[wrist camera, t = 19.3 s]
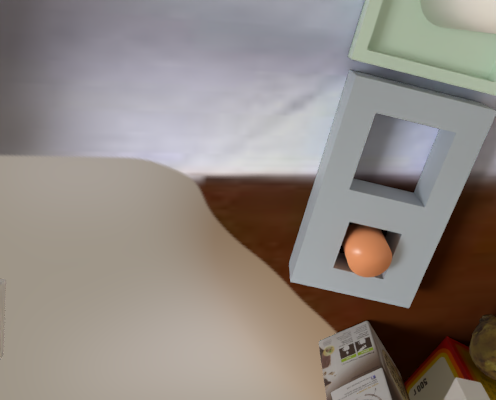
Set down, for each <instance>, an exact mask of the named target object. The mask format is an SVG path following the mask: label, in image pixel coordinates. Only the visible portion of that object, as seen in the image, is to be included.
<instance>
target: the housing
mask: <svg viewBox="0 0 496 400" xmlns="http://www.w3.org/2000/svg"><path fill="white" fill-rule="evenodd" d="M376 113H378V114H382V115H386V116H390V117H394V118H398V119H402V120H406V121H410V122H414V123H418V124H422V125H426V126H430V127H434V128H438V129H439V132H438V134H437V137H436V139H435V142H434V144H433V147H432V149H431V151H430V154H429V156H428V159H427V161H426V164H425V166H424V169H423V171H422V174H421V176H420V178H419V181H418V183H417V186H416V188H415V191H414V193H413V192H409V191H404V190H400V189H396V188H392V187H388V186H383V185H379V184H375V183H371V182H367V181H362V180H358V179H354V175H355V172H356V169H357V166H358V163H359V160H360V157H361V154H362V152H363V149H364V146H365V143H366V140H367V137H368V134H369V131H370V129H371V126H372V123H373V120H374V117H375V114H376ZM495 116H496V110H495V109H493V108H490V107H488V106H486V105H484V104H482V103H480V102H476V101H472V100H468V99H464V98H460V97H456V96H452V95H448V94H444V93H440V92H436V91H432V90H428V89H424V88H420V87H416V86H412V85H408V84H404V83H400V82H396V81H392V80H388V79H384V78H380V77H376V76H373V75H369V74H365V73H361V72H357V71H353V70H349V73H348V76H347V79H346V82H345V86H344V89H343V92H342V95H341V98H340V102H339V105H338V108H337V111H336V114H335V118H334V121H333V124H332V127H331V130H330V134H329V137H328V140H327V143H326V146H325V150H324V153H323V156H322V159H321V162H320V166H319V169H318V172H317V175H316V178H315V182H314V185H313V188H312V191H311V194H310V197H309V201H308V204H307V207H306V210H305V213H304V217H303V220H302V223H301V226H300V229H299V233H298V236H297V239H296V242H295V245H294V249H293V252H292V255H291V258H290V261H289V270H290V282H294V283H299V284H303V285H307V286H312V287H316V288H321V289H325V290H330V291H334V292H339V293H343V294H348V295H352V296H357V297H361V298H365V299H370V300H374V301H379V302H383V303H388V304H392V305H397V306H401V307H406V308H409V307H410V305H411V303H412V300H413V298H414V296H415V294H416V292H417V289H418V287H419V285H420V283H421V280H422V278H423V276H424V274H425V272H426V269H427V267H428V265H429V263H430V260H431V258H432V256H433V254H434V252H435V249H436V247H437V245H438V243H439V240H440V238H441V236H442V234H443V232H444V229H445V227H446V225H447V223H448V221H449V218H450V216H451V214H452V212H453V209H454V207H455V205H456V203H457V201H458V198H459V196H460V194H461V192H462V189H463V187H464V185H465V183H466V181H467V178H468V176H469V174H470V172H471V169H472V167H473V165H474V163H475V161H476V158H477V156H478V154H479V152H480V149H481V147H482V145H483V143H484V141H485V138H486V136H487V134H488V132H489V130H490V127H491V125H492V123H493V121H494V118H495ZM349 222H352V223H357V224H361V225H365V226H369V227H374V228H378V229H382V230H387V234H386V236H385V239H386V241H387V243H388V245H389V247H390V249H391V252H392V261H391V264H390V266H389V267H388V269H387V270H386V271H385V272H383V273H382V274H380V275H378V276H375V277H362V276H359V275H357V274H355V273H354V272H353V271H352V270H351V269H350V267H349V265H348V262H347V259H346V256H345V254H344V253H340V252H339V250H340V247H341V244H342V242H343V239H344V236H345V233H346V230H347V228H348V225H349Z"/></svg>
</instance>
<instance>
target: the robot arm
mask: <svg viewBox="0 0 496 400" xmlns="http://www.w3.org/2000/svg"><path fill="white" fill-rule="evenodd" d="M5 291H6V280H5V279H1V278H0V359H1V358H2V357H3V347H4V319H5V317H4V316H5ZM444 400H490V398H489V397H488V395H487V393H486V391H485V389H484V388H483V386H482V384H481V383H480V382H476V381H471V380H467V379H462V378H457V377H456V378H455V380H454V382H453V383H452V385H451V387H450V389H449V391H448V393H447V395H446V396H445V398H444Z"/></svg>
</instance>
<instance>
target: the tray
mask: <svg viewBox="0 0 496 400" xmlns="http://www.w3.org/2000/svg"><path fill="white" fill-rule="evenodd" d="M348 57H349V58H350V59H352V60H356V61H360V62H364V63H368V64H372V65H376V66H380V67H384V68H388V69H392V70H395V71H399V72H403V73H407V74H411V75H415V76H419V77H423V78H427V79H431V80H435V81H439V82H443V83H447V84H451V85H455V86H459V87H463V88H467V89H471V90H475V91H479V92H483V93H487V94H491V95H495V96H496V34H492V33H483V32H475V31H467V30H459V29H450V28H442V27H438V26H436V25H434V24H432V23H431V22H429V21H428V20H427V19H426V17H425V16H424V14H423V11H422V8H421V1H420V0H365V2H364V5H363V8H362V11H361V15H360V18H359V21H358V24H357V28H356V31H355V34H354V37H353V41H352V44H351V47H350V50H349V54H348Z"/></svg>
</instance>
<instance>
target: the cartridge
mask: <svg viewBox="0 0 496 400" xmlns="http://www.w3.org/2000/svg"><path fill="white" fill-rule="evenodd" d="M420 1H421V8H422V11H423V14H424V16H425V17H426V19H427V20H428V21H429V22H431V23H432V24H434V25H436V26H438V27H442V28H450V29H459V30H467V31H475V32H483V33H492V34H496V0H420Z"/></svg>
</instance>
